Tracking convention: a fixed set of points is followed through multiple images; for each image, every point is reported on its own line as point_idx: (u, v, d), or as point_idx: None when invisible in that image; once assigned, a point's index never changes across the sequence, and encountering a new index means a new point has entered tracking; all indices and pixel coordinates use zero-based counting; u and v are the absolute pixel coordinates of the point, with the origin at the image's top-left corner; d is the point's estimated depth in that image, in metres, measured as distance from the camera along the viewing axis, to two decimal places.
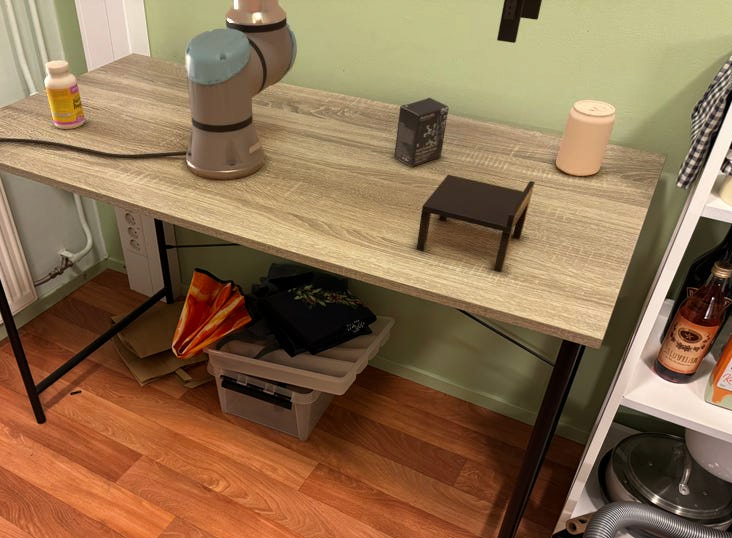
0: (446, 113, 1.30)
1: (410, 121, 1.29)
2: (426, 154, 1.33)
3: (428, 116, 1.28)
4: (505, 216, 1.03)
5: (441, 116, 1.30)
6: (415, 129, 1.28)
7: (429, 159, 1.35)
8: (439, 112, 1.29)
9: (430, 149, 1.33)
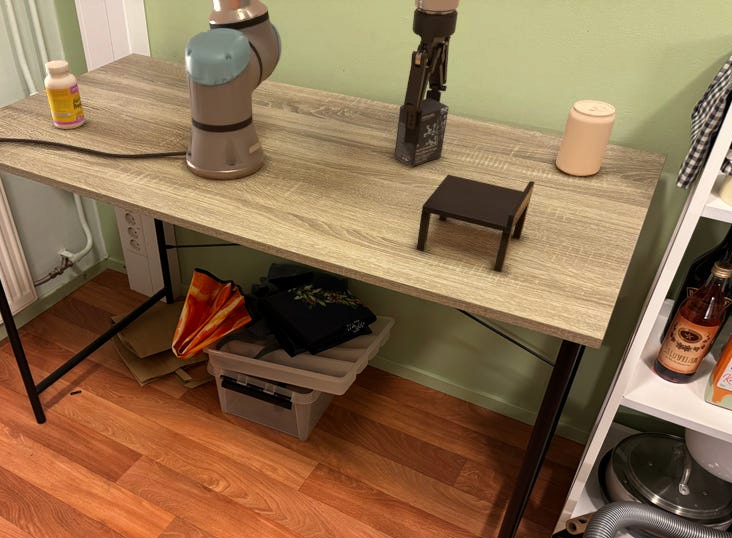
0: (446, 113, 1.30)
1: None
2: (426, 154, 1.33)
3: (428, 116, 1.28)
4: (505, 216, 1.03)
5: (441, 116, 1.30)
6: None
7: (429, 159, 1.35)
8: (439, 112, 1.29)
9: (430, 149, 1.33)
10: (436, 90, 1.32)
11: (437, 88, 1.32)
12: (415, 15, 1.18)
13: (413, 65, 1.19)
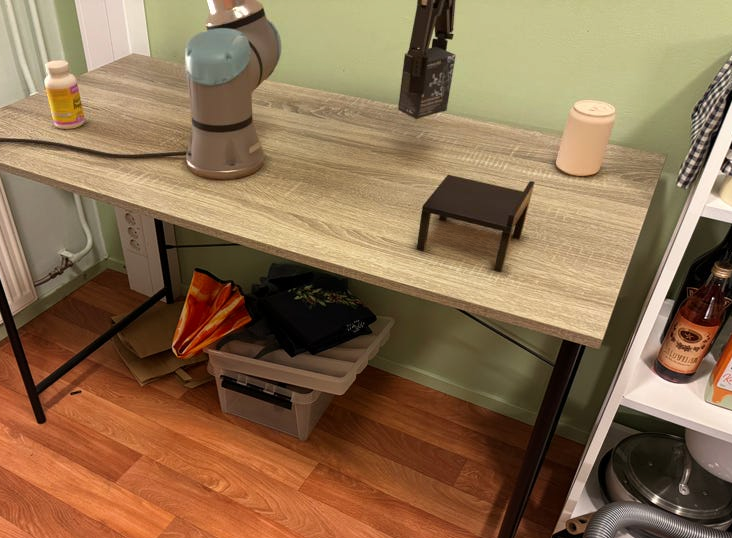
0: (453, 62, 1.24)
1: None
2: (431, 106, 1.27)
3: (434, 64, 1.21)
4: (505, 216, 1.03)
5: (448, 64, 1.23)
6: None
7: (434, 112, 1.28)
8: (445, 60, 1.22)
9: (436, 101, 1.27)
10: (442, 38, 1.26)
11: (443, 36, 1.25)
12: None
13: (419, 6, 1.13)
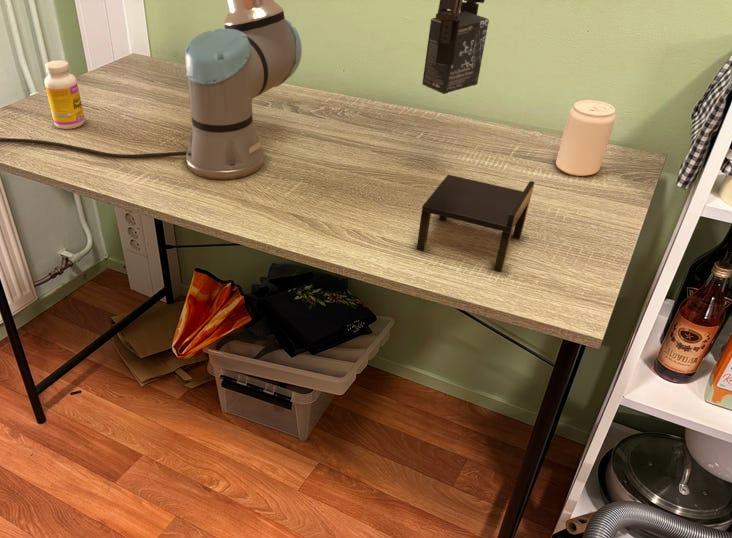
0: (486, 27, 1.09)
1: None
2: (461, 79, 1.12)
3: (465, 29, 1.06)
4: (505, 216, 1.03)
5: (480, 30, 1.08)
6: None
7: (464, 86, 1.13)
8: (477, 25, 1.07)
9: (466, 73, 1.12)
10: (473, 2, 1.11)
11: None
12: None
13: None
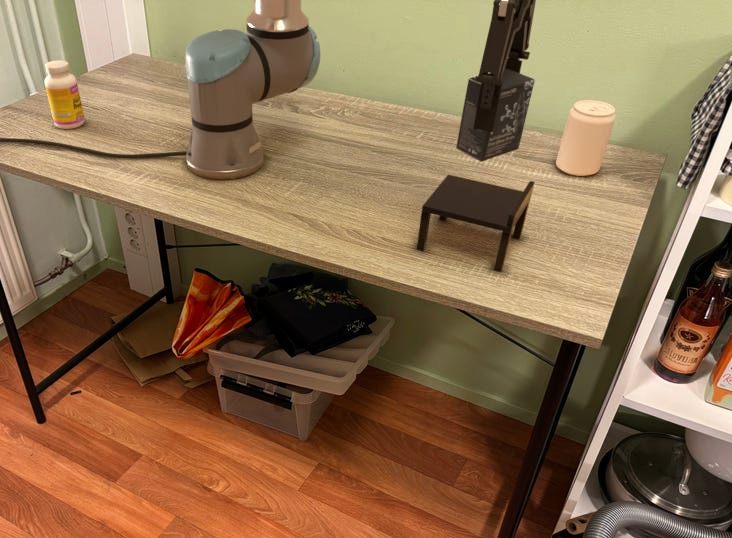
0: (531, 88, 0.95)
1: None
2: (501, 145, 0.99)
3: (508, 92, 0.93)
4: (505, 216, 1.03)
5: (525, 92, 0.95)
6: None
7: (504, 151, 1.00)
8: (522, 87, 0.94)
9: (506, 138, 0.99)
10: (515, 58, 0.97)
11: (517, 55, 0.97)
12: None
13: (495, 18, 0.85)
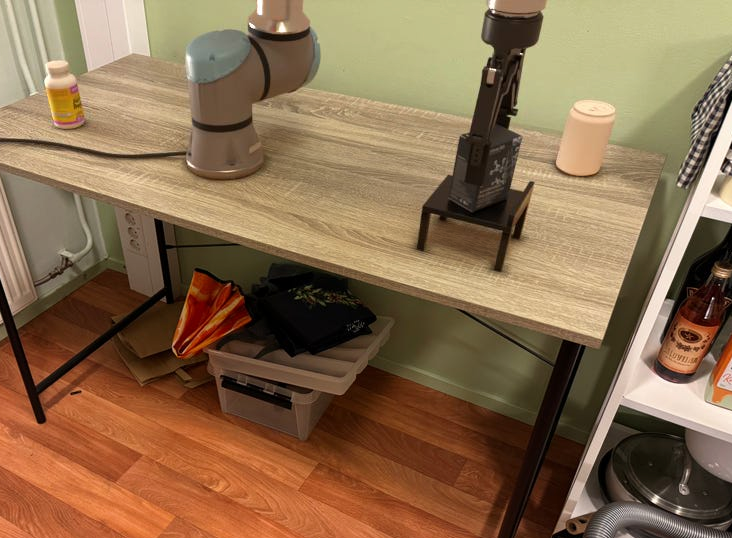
0: (519, 144, 1.01)
1: None
2: (491, 196, 1.04)
3: (497, 149, 0.98)
4: (505, 216, 1.03)
5: (513, 148, 1.00)
6: None
7: (494, 202, 1.05)
8: (510, 143, 0.99)
9: (496, 189, 1.04)
10: (504, 114, 1.03)
11: (506, 112, 1.02)
12: (487, 19, 0.89)
13: (483, 85, 0.90)
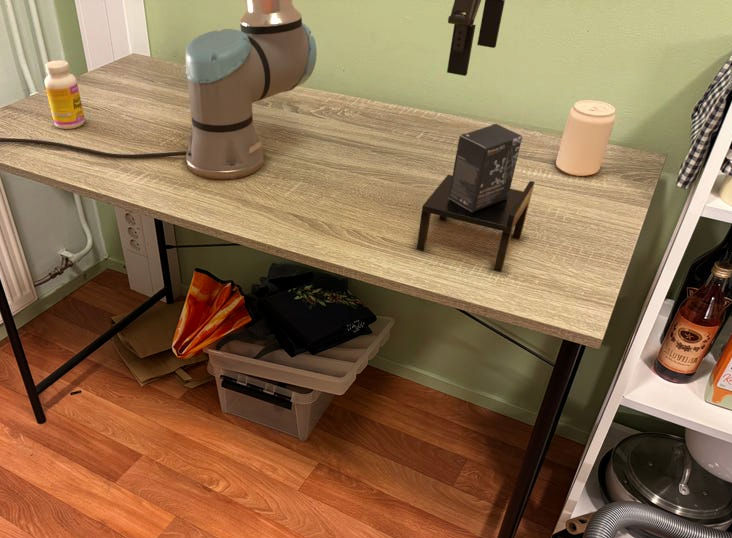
0: (519, 144, 1.01)
1: (473, 155, 0.99)
2: (491, 196, 1.04)
3: (497, 149, 0.98)
4: (505, 216, 1.03)
5: (513, 148, 1.00)
6: (480, 166, 0.99)
7: (494, 202, 1.05)
8: (510, 143, 0.99)
9: (496, 189, 1.04)
10: None
11: None
12: None
13: None
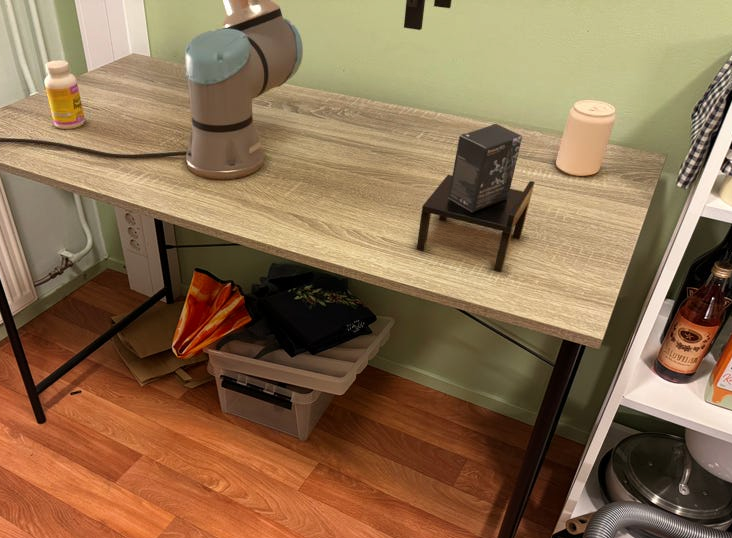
0: (519, 144, 1.01)
1: (473, 155, 0.99)
2: (491, 196, 1.04)
3: (497, 149, 0.98)
4: (505, 216, 1.03)
5: (513, 148, 1.00)
6: (480, 166, 0.99)
7: (494, 202, 1.05)
8: (510, 143, 0.99)
9: (496, 189, 1.04)
10: None
11: None
12: None
13: None
